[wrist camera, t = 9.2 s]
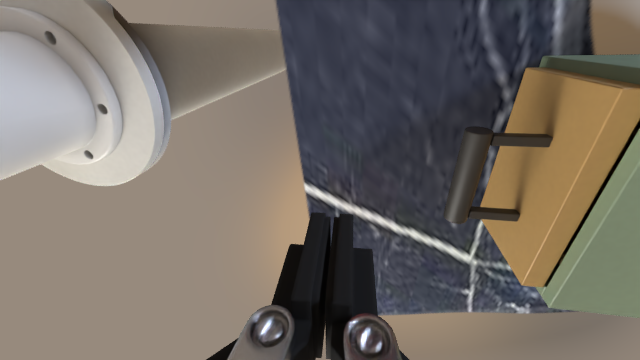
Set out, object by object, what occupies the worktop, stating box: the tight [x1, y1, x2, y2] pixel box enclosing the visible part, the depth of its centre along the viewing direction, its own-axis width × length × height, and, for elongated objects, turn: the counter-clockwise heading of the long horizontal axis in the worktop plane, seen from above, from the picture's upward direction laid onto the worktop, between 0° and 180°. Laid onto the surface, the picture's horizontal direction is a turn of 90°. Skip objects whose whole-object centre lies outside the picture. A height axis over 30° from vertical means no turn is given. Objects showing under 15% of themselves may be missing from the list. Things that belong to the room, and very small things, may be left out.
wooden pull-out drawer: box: [444, 67, 640, 287], centre depth 15 cm, size 18×11×7 cm, turn 91°
